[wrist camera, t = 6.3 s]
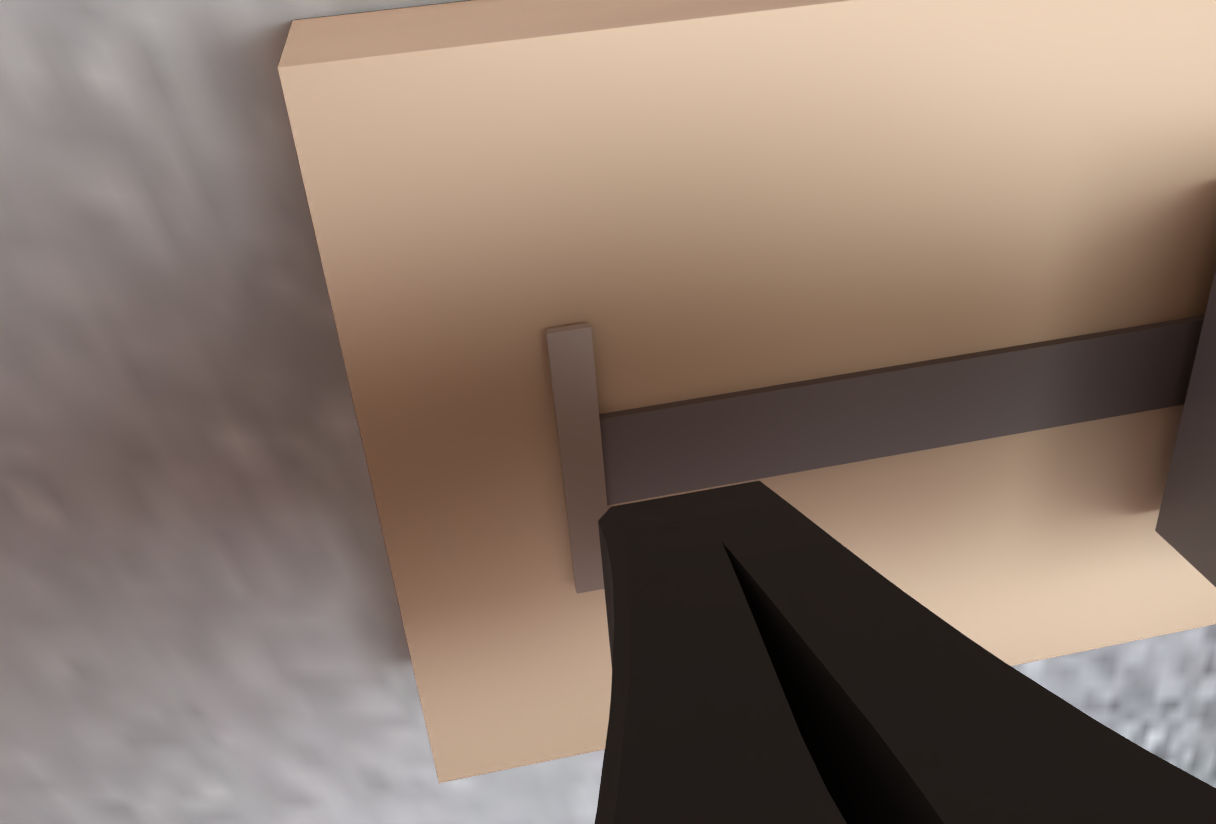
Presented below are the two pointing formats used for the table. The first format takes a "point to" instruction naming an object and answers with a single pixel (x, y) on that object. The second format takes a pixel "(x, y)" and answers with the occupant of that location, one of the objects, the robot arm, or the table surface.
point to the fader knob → (1195, 461)
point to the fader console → (760, 309)
